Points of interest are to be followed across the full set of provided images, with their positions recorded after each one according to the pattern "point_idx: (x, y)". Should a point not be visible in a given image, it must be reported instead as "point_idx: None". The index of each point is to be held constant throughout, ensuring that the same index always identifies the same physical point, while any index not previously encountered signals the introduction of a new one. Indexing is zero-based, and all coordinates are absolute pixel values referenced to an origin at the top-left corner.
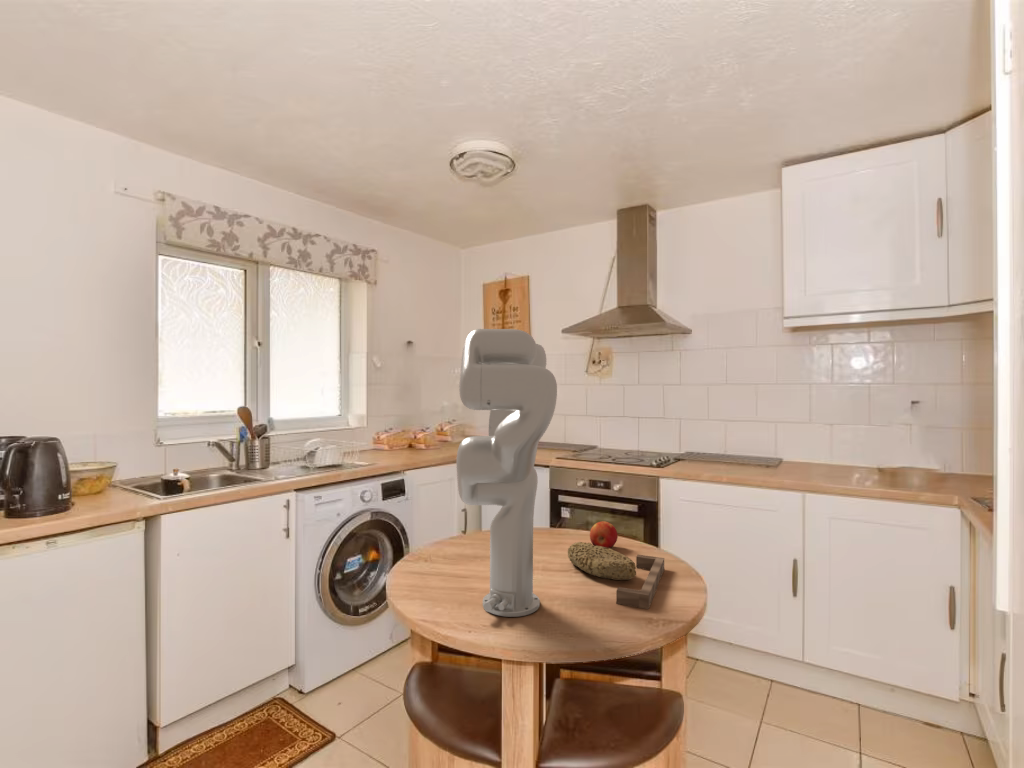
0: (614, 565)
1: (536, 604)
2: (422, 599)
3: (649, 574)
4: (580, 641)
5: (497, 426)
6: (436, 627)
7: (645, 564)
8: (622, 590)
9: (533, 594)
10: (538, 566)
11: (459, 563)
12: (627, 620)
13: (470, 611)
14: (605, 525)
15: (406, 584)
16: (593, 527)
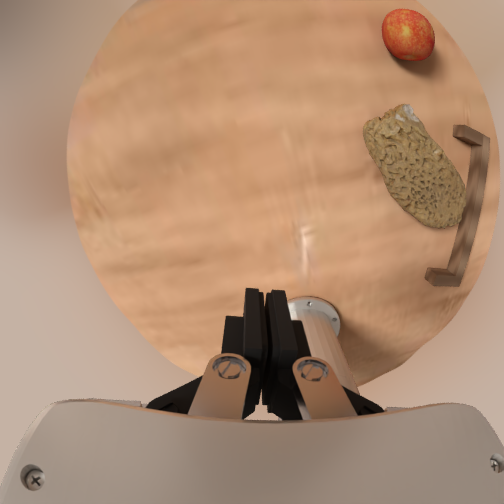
0: (445, 226)
1: (337, 333)
2: (185, 344)
3: (473, 216)
4: (379, 364)
5: None
6: None
7: (466, 140)
8: (438, 284)
9: (329, 309)
10: (307, 165)
11: (154, 202)
12: (426, 312)
13: None
14: (427, 39)
15: (135, 311)
16: (402, 35)
